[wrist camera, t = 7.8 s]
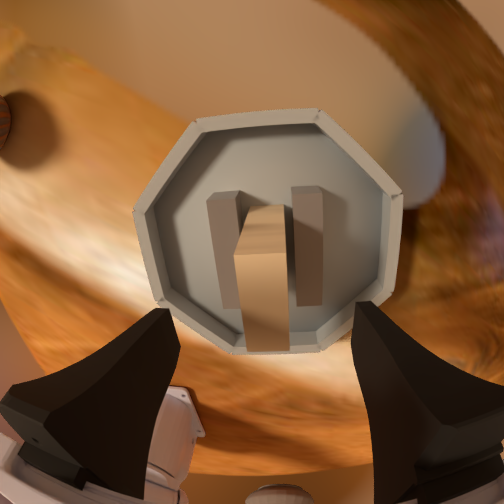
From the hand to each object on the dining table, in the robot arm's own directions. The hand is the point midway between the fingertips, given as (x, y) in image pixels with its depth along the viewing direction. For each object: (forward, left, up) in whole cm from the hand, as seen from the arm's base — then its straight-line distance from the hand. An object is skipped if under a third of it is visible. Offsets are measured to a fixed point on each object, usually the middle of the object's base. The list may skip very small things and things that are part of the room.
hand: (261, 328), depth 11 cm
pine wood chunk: (0, 0, -8) cm, 8 cm away
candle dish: (0, 0, -9) cm, 9 cm away
